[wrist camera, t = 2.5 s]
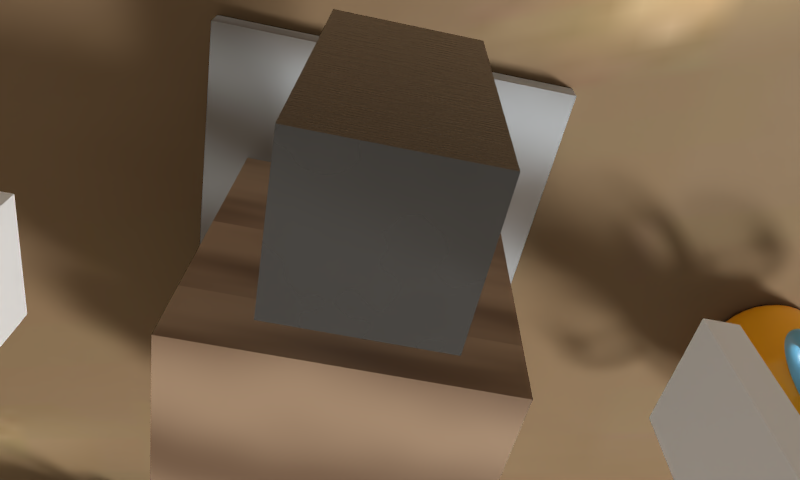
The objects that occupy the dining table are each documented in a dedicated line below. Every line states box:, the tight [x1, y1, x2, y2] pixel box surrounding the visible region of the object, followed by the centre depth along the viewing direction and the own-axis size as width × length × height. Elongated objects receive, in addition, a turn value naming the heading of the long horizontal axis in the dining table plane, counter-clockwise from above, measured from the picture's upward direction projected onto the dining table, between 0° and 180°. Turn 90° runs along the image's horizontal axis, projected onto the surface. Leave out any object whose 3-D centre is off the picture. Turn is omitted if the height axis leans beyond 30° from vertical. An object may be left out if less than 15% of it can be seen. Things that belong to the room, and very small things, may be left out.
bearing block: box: [150, 15, 576, 480], centre depth 30 cm, size 24×16×14 cm, turn 169°
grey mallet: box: [254, 9, 520, 356], centre depth 24 cm, size 26×5×10 cm, turn 169°
